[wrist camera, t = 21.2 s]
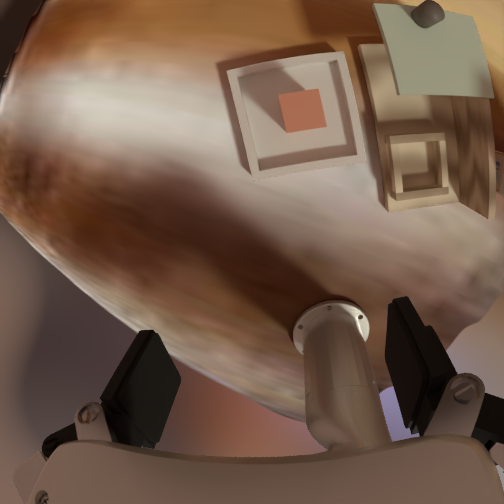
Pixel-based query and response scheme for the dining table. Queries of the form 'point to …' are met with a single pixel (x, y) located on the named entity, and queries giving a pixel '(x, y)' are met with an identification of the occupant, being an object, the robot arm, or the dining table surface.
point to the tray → (271, 120)
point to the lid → (433, 51)
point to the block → (302, 110)
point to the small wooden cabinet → (430, 143)
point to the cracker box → (499, 172)
